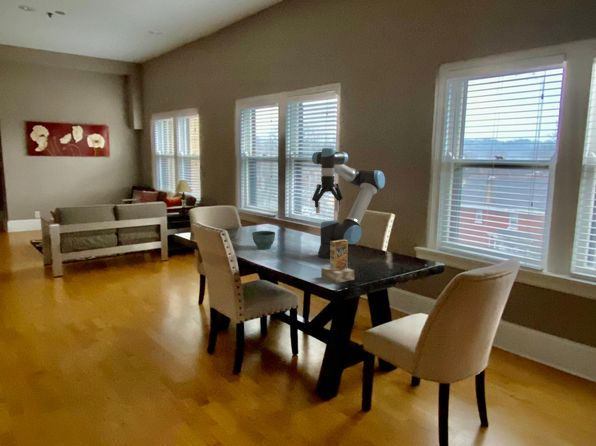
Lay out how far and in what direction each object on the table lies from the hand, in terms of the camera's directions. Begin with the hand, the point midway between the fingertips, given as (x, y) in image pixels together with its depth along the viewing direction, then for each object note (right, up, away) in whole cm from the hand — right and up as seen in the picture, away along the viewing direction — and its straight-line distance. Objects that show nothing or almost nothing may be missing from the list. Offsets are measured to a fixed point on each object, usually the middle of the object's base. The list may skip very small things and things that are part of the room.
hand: (327, 212), depth 252 cm
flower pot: (-41, -24, +53) cm, 71 cm away
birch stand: (+4, -36, -22) cm, 42 cm away
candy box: (+4, -31, -22) cm, 38 cm away
